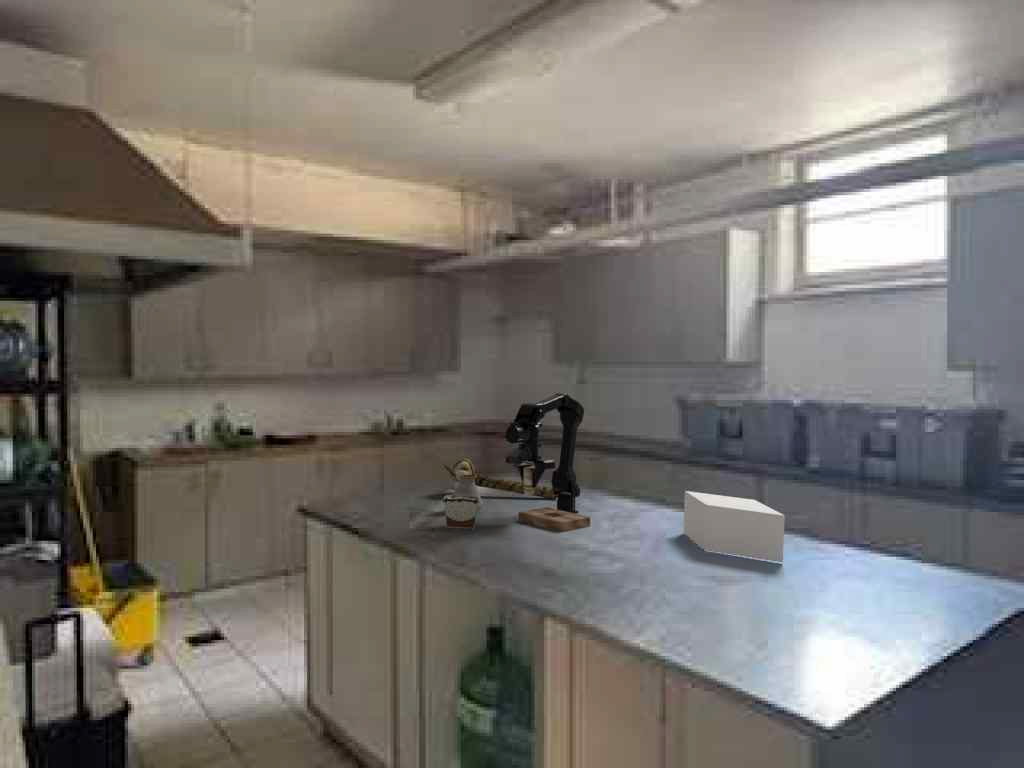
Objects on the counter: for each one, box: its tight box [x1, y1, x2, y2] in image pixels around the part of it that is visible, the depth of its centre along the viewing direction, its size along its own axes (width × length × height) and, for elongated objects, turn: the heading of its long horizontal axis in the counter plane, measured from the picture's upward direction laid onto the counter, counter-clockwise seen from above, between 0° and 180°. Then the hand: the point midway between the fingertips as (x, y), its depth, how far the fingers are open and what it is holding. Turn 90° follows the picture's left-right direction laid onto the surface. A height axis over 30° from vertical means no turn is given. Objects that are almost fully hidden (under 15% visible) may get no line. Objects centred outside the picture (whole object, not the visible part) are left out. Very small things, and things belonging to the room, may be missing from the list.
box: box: [683, 490, 786, 563], centre depth 227 cm, size 20×40×14 cm, turn 30°
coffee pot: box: [441, 464, 484, 513], centre depth 274 cm, size 21×12×15 cm, turn 38°
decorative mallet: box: [449, 458, 558, 501], centre depth 301 cm, size 15×42×16 cm, turn 94°
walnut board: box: [517, 507, 591, 533], centre depth 254 cm, size 14×20×3 cm
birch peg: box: [523, 466, 535, 496], centre depth 255 cm, size 4×4×9 cm
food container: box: [441, 493, 480, 529], centre depth 247 cm, size 12×6×10 cm, turn 84°
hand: (529, 486), depth 255 cm, fingers closed on birch peg, 4 cm apart
